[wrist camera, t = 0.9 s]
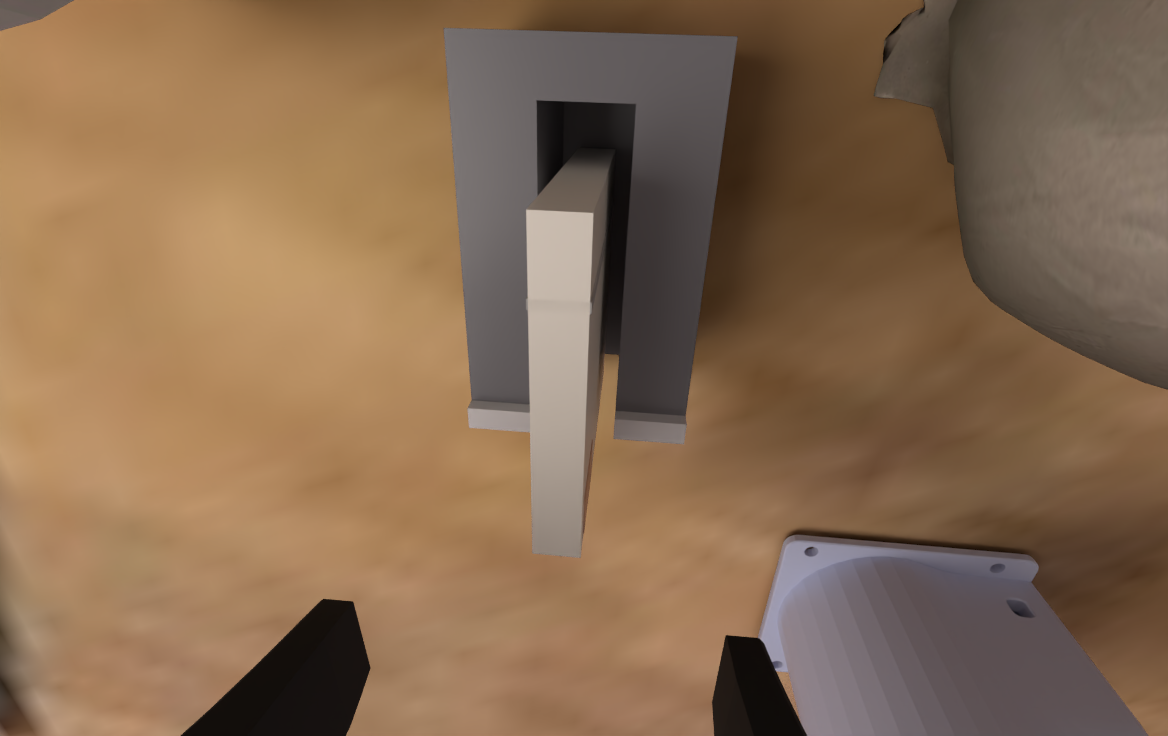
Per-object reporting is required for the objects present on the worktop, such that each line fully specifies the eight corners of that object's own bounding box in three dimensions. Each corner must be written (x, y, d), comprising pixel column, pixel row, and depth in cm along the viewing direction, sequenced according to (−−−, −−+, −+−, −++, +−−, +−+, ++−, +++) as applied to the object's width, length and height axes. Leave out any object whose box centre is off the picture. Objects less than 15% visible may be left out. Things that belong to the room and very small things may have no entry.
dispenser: (708, 47, 15) (741, 34, 10) (672, 351, 19) (683, 444, 14) (501, 41, 15) (436, 26, 10) (511, 340, 19) (469, 427, 15)
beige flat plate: (616, 149, 15) (595, 213, 8) (604, 374, 18) (582, 557, 11) (578, 147, 15) (524, 209, 8) (572, 371, 19) (531, 553, 12)
